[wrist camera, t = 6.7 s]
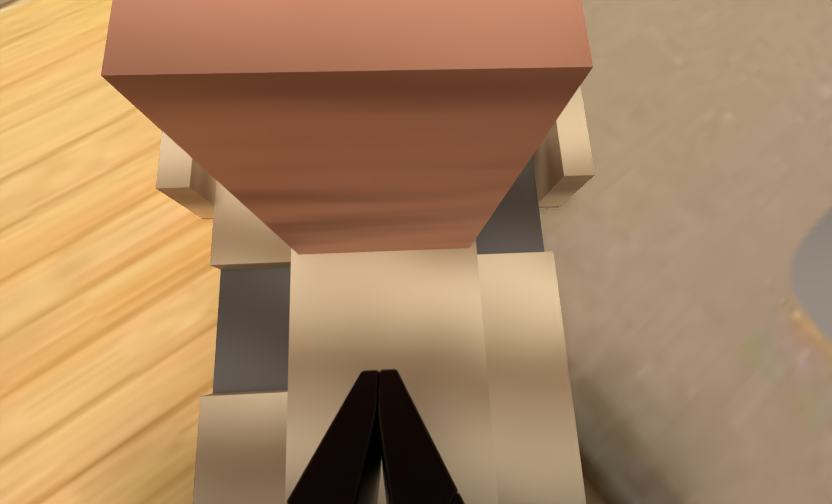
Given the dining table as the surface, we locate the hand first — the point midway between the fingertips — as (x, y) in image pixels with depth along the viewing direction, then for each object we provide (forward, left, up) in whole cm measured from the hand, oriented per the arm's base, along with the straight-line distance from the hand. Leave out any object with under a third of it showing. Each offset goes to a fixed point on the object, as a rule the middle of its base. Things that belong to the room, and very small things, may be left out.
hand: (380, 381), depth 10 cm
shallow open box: (+4, -4, -7) cm, 9 cm away
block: (+6, -6, -6) cm, 11 cm away
